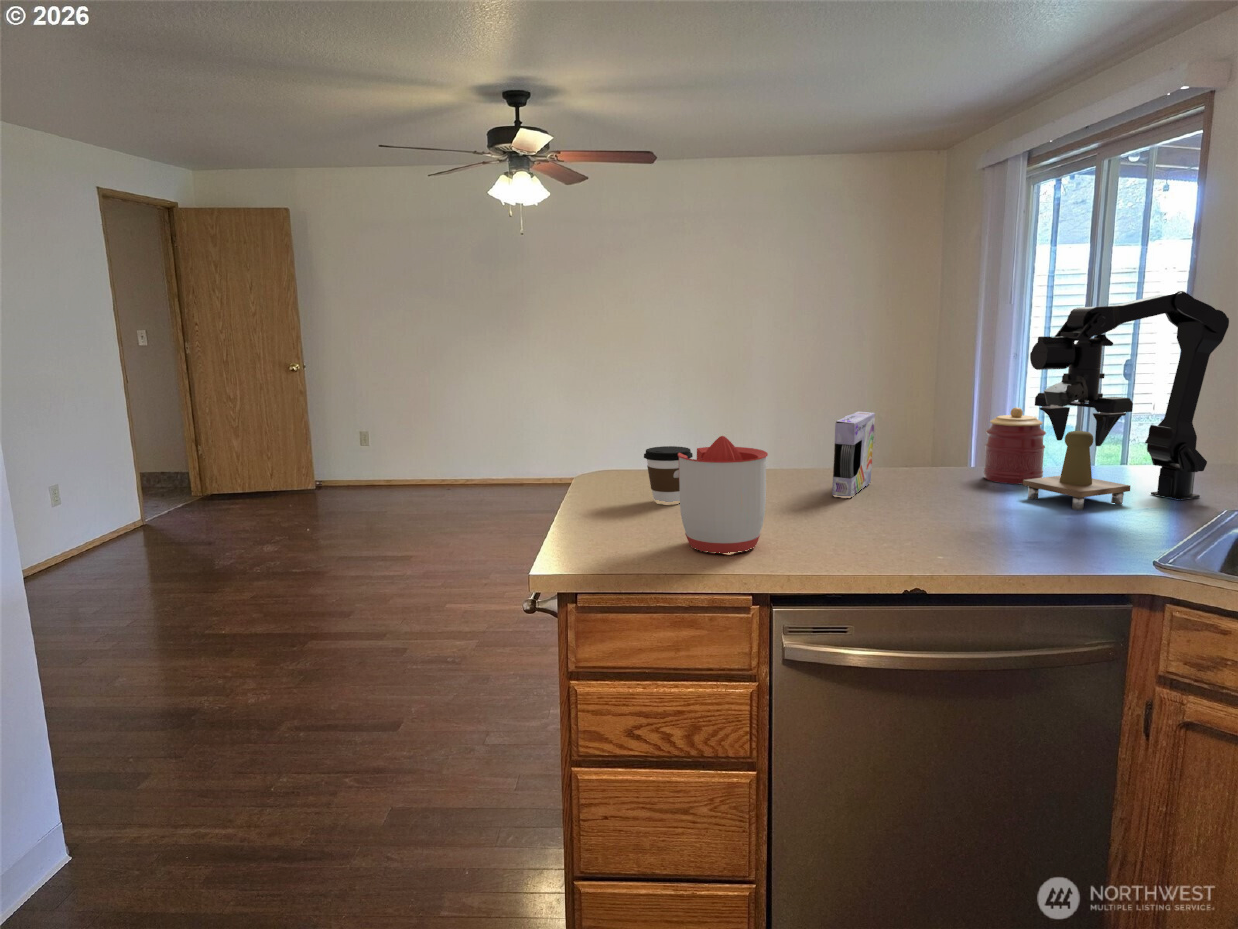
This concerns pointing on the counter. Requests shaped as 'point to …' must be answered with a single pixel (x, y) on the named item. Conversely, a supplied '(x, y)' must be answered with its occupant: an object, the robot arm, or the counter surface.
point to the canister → (1014, 448)
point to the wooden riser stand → (1076, 498)
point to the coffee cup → (665, 471)
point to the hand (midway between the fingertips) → (1078, 443)
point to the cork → (1077, 459)
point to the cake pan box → (853, 453)
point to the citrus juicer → (723, 496)
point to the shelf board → (1076, 487)
